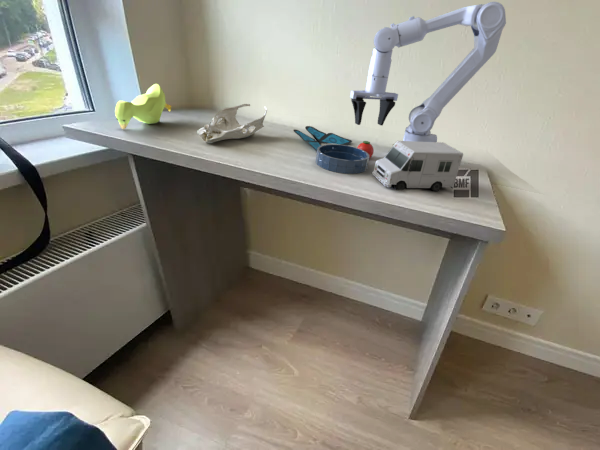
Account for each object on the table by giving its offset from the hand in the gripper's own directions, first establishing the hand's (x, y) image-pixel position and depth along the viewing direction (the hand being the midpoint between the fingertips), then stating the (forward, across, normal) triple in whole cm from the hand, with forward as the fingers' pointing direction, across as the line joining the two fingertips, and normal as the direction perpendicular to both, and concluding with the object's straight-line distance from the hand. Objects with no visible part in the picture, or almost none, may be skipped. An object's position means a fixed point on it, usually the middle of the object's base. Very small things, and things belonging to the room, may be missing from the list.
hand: (368, 124), depth 110 cm
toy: (+9, -64, +31) cm, 71 cm away
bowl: (+9, -12, -11) cm, 19 cm away
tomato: (+9, -3, -5) cm, 11 cm away
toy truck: (+9, +1, -25) cm, 26 cm away
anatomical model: (+9, -38, +17) cm, 43 cm away
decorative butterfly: (+9, -12, +9) cm, 18 cm away
